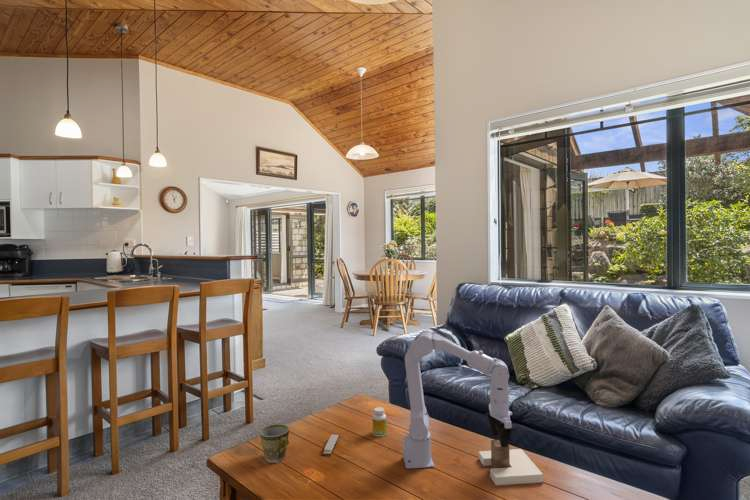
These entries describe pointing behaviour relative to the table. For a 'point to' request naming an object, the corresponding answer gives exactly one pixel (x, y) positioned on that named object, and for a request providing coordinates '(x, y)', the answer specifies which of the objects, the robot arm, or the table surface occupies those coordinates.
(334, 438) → the harmonica
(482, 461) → the socket block
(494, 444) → the peg
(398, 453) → the table surface
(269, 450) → the ceramic cup
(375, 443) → the table surface
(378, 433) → the supplement bottle
